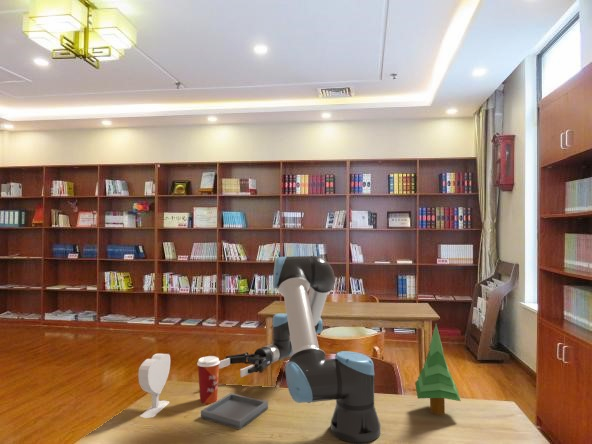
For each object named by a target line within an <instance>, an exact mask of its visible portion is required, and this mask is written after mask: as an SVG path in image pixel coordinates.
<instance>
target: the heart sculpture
mask: <svg viewBox="0 0 592 444" xmlns="http://www.w3.org/2000/svg"><path fill="white" fill-rule="evenodd" d="M170 369H171V355H170V353H155V354H153V355H152V356H151V358H146V359H145V360H144V361H142V363H141V364H140V366H139V367H138V375H137V377H138V384H139V386H140V388H141V389H142V390H143V391H144V392H145V393H149V394H151V406H150V407H148V408H147V409H146V410H145V411H144V412H143V413H142V414H140V415H139V417H141V418H143V419H149V418H154V417H156V416H157V414H159V413H160V412H161V411H162V410H163V409H164V408H165V407H167V406H168V405H169V404H170V401H169V400H160V395H161V394H162V390H163V389H164V387H165V384H166V383H167V380H168V378H169V373H170Z"/></svg>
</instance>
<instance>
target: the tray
mask: <svg viewBox="0 0 592 444" xmlns="http://www.w3.org/2000/svg"><path fill="white" fill-rule="evenodd" d="M268 409H269V401H267V400H263V399H262V400H261V399H257V398H254V397H251V396H250V397H249V396H244V395H241V394H236V393H233V392H230V393H228V394H226V395H225V396H223V397H222V398H220V399H217V401H216V402H214V403H211V404H210V405H208V406H207V407H204V408H203V409H202V410H200V419H202V420H206V421H209V422H212V423H216V424H220V425H223V426H226V427H230V428H233V429H237V430H241V429H243V428H244V427H246V426H247V425H248V424H249V423H251V422H253V420H255V419H257V418H258V417H259V416H261V415H262V414H263V413H265V412H267V410H268Z"/></svg>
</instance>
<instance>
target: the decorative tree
mask: <svg viewBox="0 0 592 444" xmlns="http://www.w3.org/2000/svg"><path fill="white" fill-rule="evenodd" d="M433 329H434V330H433V332H432V337H431V339H430V343H429V346H428V347H429V349H428V350H429V351H428V353H427V355H426V360H425V362H424V364H423V368H422V369H421V370H420V374H419V376H418V377H417V380H415V383H414V385H415V389H416V396H417V397H416V398H417V399H429V410H430V413H431V414H435V415H438V416H439V415H445V413H446V412H445V404H446V403H445V402H446V401H445V399H446V400H451V401H458V402H461V401H462V400H461V398H460V395H459V391H458V388H457V385H456V384H455V381H454V378H453V377H452V374H451V372H450V370H449V366H448V364H447V361H446V357H445V355H444V349H443V345H442V341H441V337H440V332H439V329H438V324H437V323H435V326H434V328H433Z"/></svg>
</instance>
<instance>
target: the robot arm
mask: <svg viewBox="0 0 592 444" xmlns="http://www.w3.org/2000/svg"><path fill="white" fill-rule="evenodd" d="M272 285H273V288H274V289H275V290H277V289H278V292H279V294H280V295H281V296H282V297H283V298H284V305H285V311H286V312H285V313H283V312H281V313H275V314H274V315H273V317H272V343H269V344H268V345H264V346H262V347H259V348H257V349H256V350H255V351H254V352H253V353H251V354H249V352H244V353H237V354H231V355H226V356H225V358H224V359H221V360H219V361H220V363H219V370H220V369H223V368H225V367H229V366H231V365H235V364H245V365H248V366H246V367H244V368H240V369H239V374H240V375H239V376H240V378H243V377H246V376H247V375H248V376H249V375H251V374H253V373H258V372H259V373H260V374H262V373H263V372H264V371H265V370H266V368H267V367H269V366H270V365H273V363H276V362H278V361H281V360H284V359H287V358H288V357H289V359H288V362H287V363H286V364H285V369H284V371H285V377H286V380H285V381H286V384H287V385H286V386H287V389H288V392H289V395H290V397H291V399H292V400H293V401H294V402H296V403H298V404H301V403H302V404H303V403H305V404H306V403H307V404H311V403H316V402H318V403H319V402H323V401H336V403H335V408H334V411H333V415H332V417H331V421H330V431H331V434H332V435H334V436H335V437H336V438H337V439H339V440H341V441H344V442H347V443H353V444H354V443H355V444H365V443H370V442H373V441H375V440H376V439H378V438H379V437H380V435H381V422H380V419H379V417H378V413H377V409H376V407H375V369H374V368H375V366H374V362H373V359H371V357H370V356H368V355H366V354H364V353H360V352H356V351H348V350H347V351H346V350H342V351H338V352H337V353H336V354H335V356H334V358H328V359H327V355H326V352H325V351H324V350H323V349H321V348H320V346H319V341H318V336H317V334H321V333H322V332H323V327H324V326H323V319H322V318H321V316H322V313H323V310H324V307H325V305H326V301H327V298H328V296H329V293H330V292H331V291H332V290H333V287H334V285H335V271H334V269H333V267H332V266H331V264H330V263H329V262H328V261H327V260H326V259H325V258H323V257H320V256H317V255H305V256H304V255H303V256H302V255H299V256H292V255H291V256H287V255H286V256H279V257H277V258H276V259H275V260H274V266H273V278H272Z"/></svg>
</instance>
